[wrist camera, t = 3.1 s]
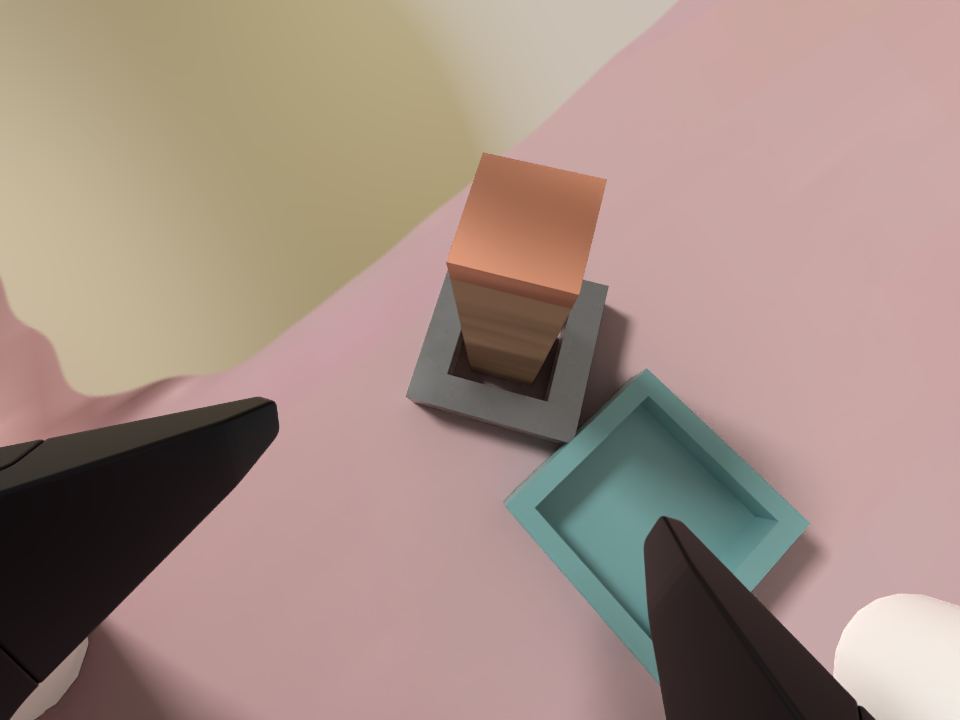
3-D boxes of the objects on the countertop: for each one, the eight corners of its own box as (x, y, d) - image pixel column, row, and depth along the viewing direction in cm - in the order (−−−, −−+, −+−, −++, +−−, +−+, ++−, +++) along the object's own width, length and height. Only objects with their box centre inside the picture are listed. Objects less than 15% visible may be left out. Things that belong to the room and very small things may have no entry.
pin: (530, 386, 23) (579, 294, 10) (471, 370, 23) (446, 261, 10) (545, 329, 24) (606, 179, 11) (487, 314, 24) (482, 152, 11)
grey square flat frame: (566, 445, 22) (573, 444, 20) (413, 402, 23) (405, 396, 21) (599, 300, 24) (608, 286, 22) (457, 265, 25) (454, 248, 23)
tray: (772, 516, 21) (810, 523, 18) (643, 662, 19) (665, 691, 17) (630, 378, 23) (647, 368, 20) (503, 500, 21) (505, 505, 19)
